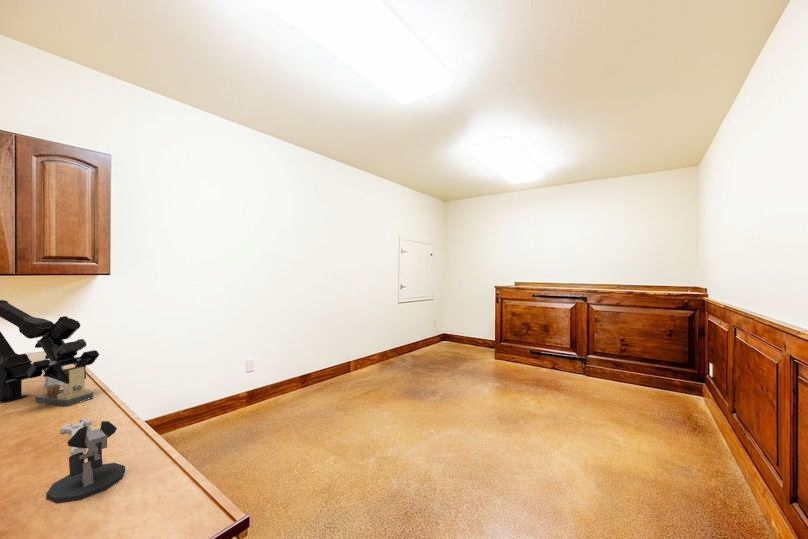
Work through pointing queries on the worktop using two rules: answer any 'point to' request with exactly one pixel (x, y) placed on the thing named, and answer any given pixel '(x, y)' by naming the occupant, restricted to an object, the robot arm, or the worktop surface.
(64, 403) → the brushed steel slab
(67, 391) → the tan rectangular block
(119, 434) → the worktop surface
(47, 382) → the ink box
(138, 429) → the worktop surface
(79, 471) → the gun turret
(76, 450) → the adjustable wrench
